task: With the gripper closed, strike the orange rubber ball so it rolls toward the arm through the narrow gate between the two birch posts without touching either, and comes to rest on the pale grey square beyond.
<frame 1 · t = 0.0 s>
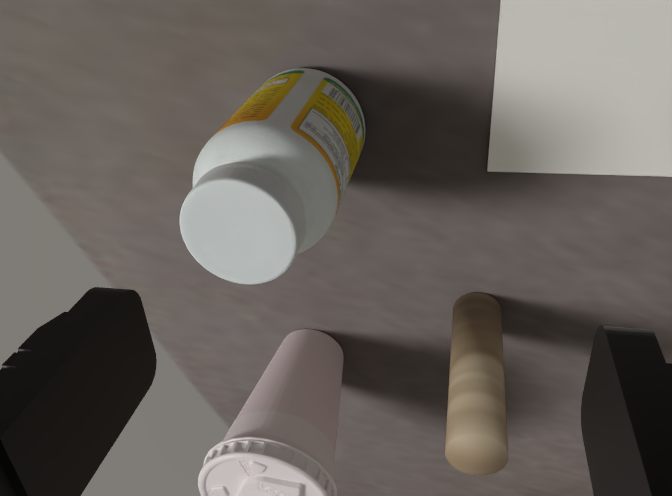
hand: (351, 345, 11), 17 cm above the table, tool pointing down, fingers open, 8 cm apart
post 1: (476, 311, 31), on the table
supplement bottle: (308, 122, 27), on the table
smoothie: (313, 351, 35), on the table
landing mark: (666, 26, 22), on the table
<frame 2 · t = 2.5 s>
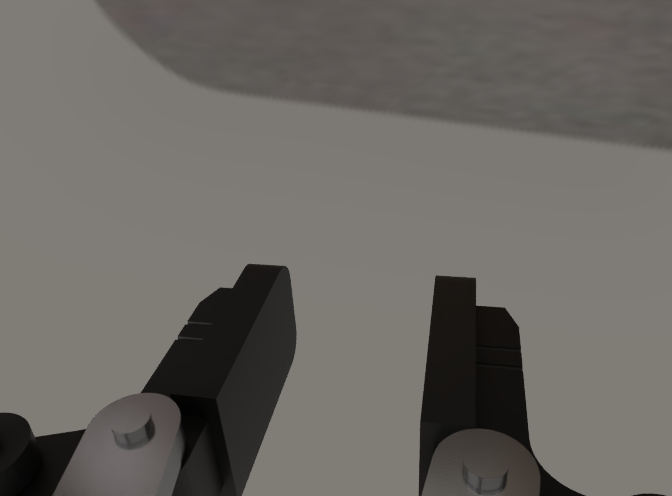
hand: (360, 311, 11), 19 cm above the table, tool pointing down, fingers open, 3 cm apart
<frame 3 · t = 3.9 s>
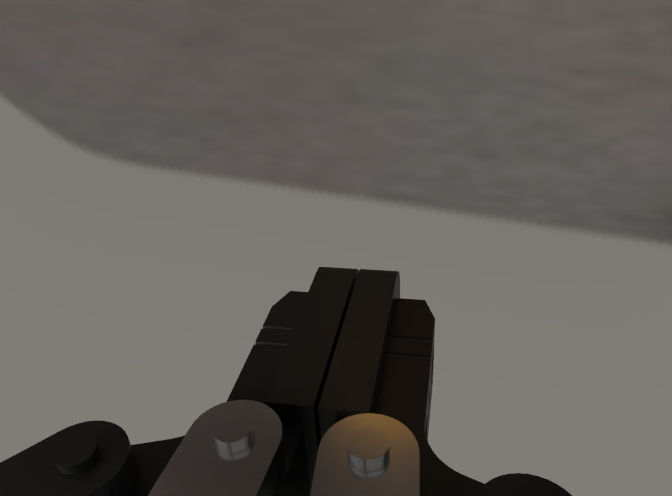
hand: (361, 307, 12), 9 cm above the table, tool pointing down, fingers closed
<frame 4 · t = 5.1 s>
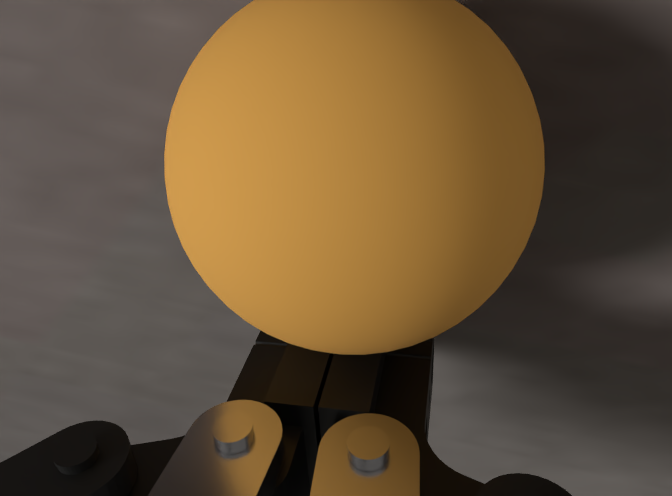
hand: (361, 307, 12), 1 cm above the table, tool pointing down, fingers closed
ball: (352, 170, 8), on the table, touching gripper
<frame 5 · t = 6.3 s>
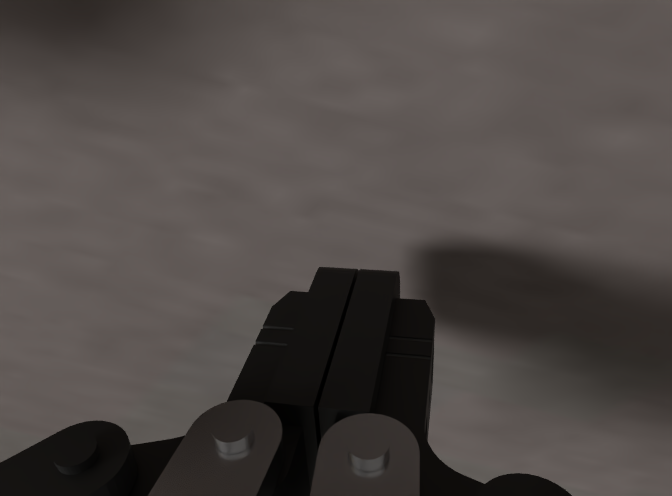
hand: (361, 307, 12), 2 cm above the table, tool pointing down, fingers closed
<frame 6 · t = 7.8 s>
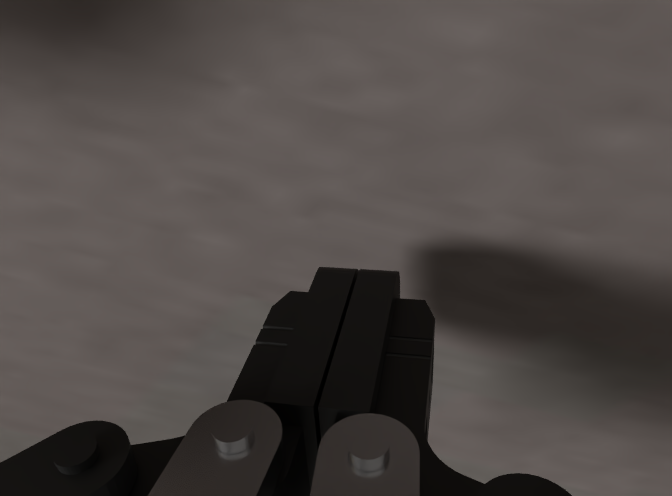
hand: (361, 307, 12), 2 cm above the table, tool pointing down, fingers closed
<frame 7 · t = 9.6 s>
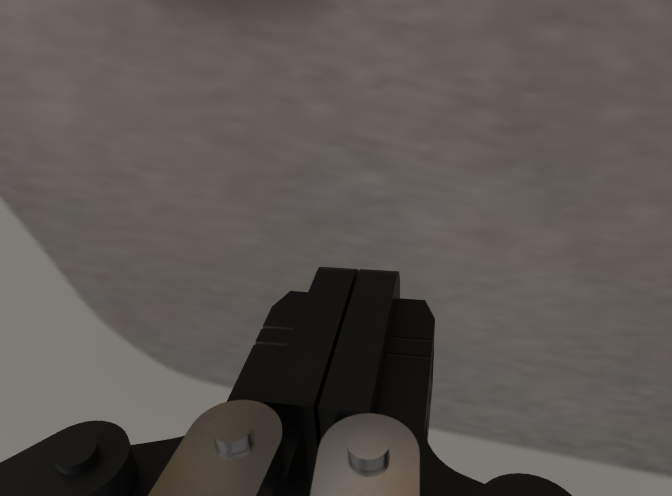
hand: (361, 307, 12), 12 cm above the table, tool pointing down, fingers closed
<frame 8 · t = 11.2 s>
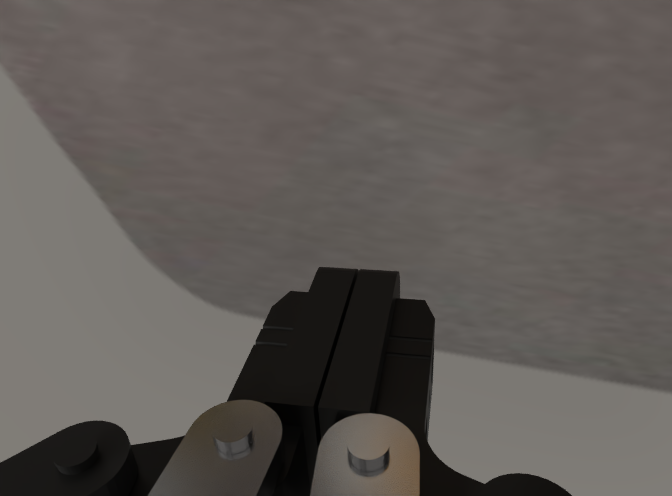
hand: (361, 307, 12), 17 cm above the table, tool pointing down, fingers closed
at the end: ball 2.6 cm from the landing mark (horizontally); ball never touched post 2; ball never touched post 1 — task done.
